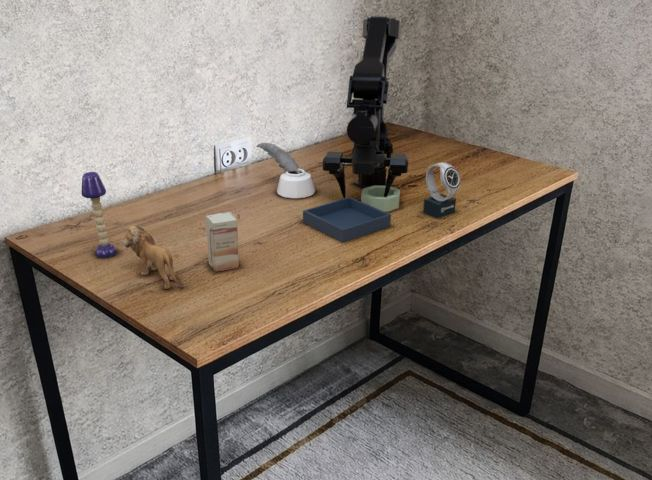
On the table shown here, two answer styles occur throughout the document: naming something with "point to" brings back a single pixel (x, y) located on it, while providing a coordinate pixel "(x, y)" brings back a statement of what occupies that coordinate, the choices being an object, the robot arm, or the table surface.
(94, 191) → the toy lamp
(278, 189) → the inkwell
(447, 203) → the watch
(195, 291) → the table surface
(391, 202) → the ring
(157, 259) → the lion figurine
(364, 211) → the tray
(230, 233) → the small carton box
